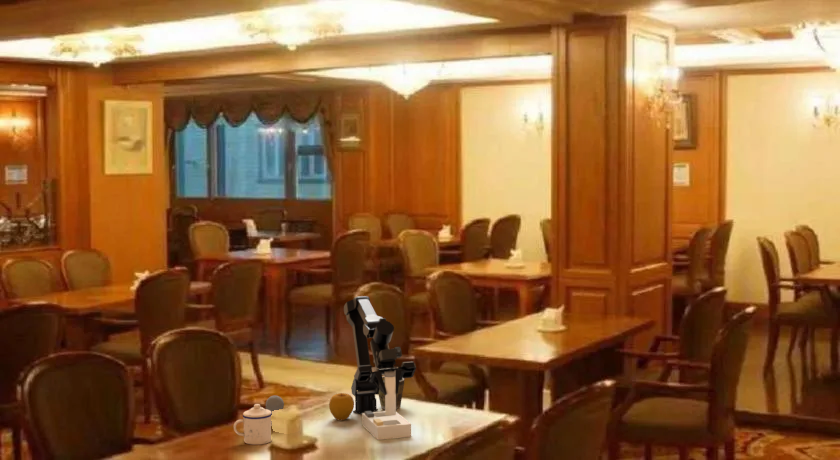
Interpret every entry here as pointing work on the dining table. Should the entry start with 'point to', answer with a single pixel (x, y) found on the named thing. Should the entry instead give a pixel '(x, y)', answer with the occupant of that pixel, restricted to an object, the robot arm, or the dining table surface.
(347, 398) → the apple
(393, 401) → the plug
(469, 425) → the dining table surface
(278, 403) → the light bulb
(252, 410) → the teacup with lid
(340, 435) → the dining table surface
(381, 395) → the ceramic cup
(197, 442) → the dining table surface
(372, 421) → the socket board
